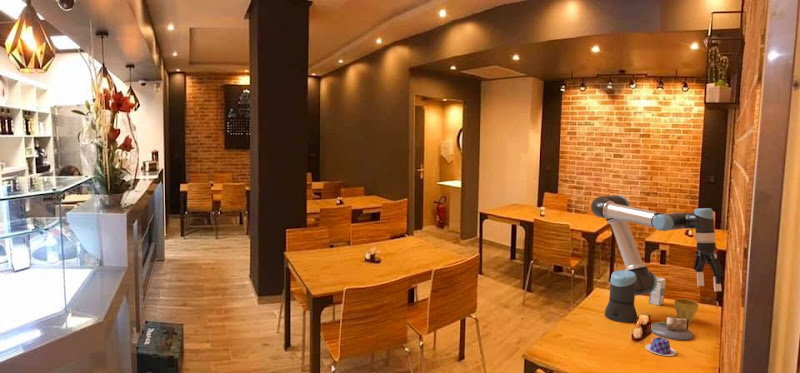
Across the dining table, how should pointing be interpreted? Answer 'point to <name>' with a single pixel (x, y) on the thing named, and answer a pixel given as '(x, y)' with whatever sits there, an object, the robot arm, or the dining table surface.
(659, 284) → the syrup box
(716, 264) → the robot arm
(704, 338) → the dining table surface
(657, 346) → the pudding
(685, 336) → the flat grey disc
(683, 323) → the tuning peg
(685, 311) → the plant pot
